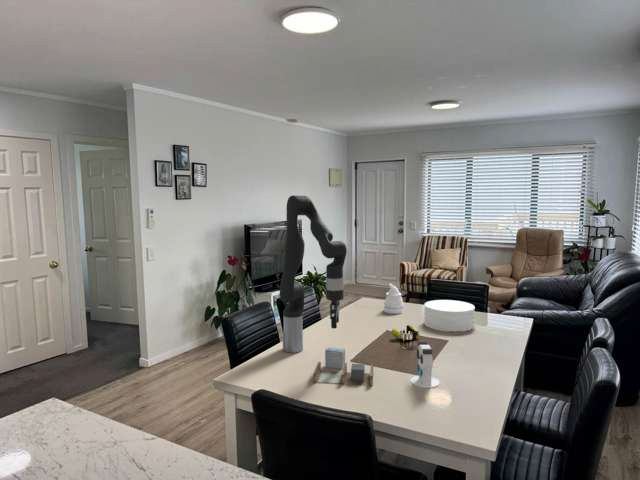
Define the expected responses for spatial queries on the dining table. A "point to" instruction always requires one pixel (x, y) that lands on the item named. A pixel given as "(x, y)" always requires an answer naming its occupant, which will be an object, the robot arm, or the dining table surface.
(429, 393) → the dining table surface
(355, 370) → the cord plug
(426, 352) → the panda figurine
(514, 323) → the dining table surface
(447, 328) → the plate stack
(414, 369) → the dining table surface
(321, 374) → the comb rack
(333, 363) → the medicine box
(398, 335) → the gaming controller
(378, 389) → the dining table surface
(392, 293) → the honey pot
